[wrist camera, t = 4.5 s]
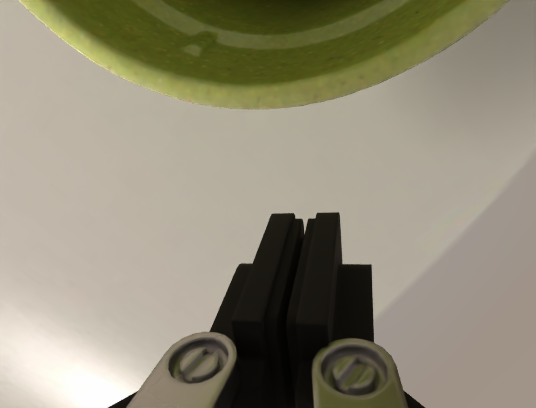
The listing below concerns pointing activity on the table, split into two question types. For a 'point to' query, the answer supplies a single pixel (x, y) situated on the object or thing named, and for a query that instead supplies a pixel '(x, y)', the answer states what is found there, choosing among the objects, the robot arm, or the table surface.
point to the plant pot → (260, 43)
